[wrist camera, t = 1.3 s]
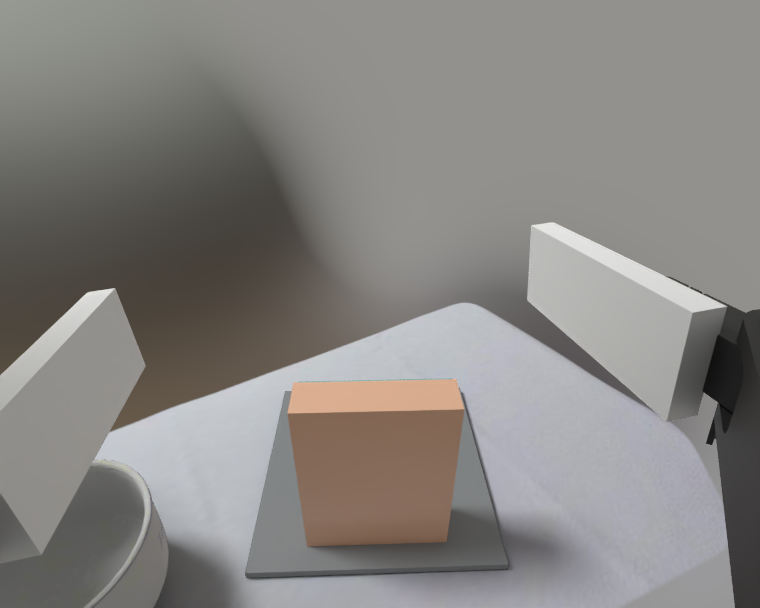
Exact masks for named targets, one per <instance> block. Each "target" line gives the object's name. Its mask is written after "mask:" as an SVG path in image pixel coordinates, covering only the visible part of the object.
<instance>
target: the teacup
mask: <svg viewBox="0 0 760 608" xmlns="http://www.w3.org/2000/svg"><path fill="white" fill-rule="evenodd" d="M168 560H169V552H168V542H167V537H166V533H165V530H164V527H163V524H162V522H161V519H160V517H159V515H158V512H157V510H156V508H155V506H154V504H153V501H152V498H151V494H150V491H149V488H148V486H147V484H146V482H145V481H144V479H143V478H142V477H141V476H140V474H139V473H138V472H136V471H135V470H134V469H133V468H131V467H129V466H127V465H124V464H122V463H119V462H116V461H113V460H112V461H108V460H105V459H103V460H93V462H92V464H91V466H90V468H89V469H88V471H87V473H86V475H85V477H84V479H83V480H82V482H81V484H80V486H79V488H78V489H77V491H76V493H75V495H74V497H73V499H72V500H71V502H70V504H69V506H68V508H67V509H66V511H65V513H64V515H63V517H62V519H61V520H60V522H59V524H58V526H57V528H56V529H55V531H54V533H53V535H52V537H51V539H50V540H49V542H48V544H47V546H46V548H45V549H44V551H43V553H42V555H38V556H34V557H29V558H24V559H20V560H15V561H10V562H6V563H1V564H0V608H153V607H154V606H155V604H156V602H157V600H158V598H159V595H160V593H161V590H162V588H163V585H164V582H165V578H166V574H167V568H168Z"/></svg>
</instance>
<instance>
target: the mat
mask: <svg viewBox="0 0 760 608" xmlns="http://www.w3.org/2000/svg"><path fill="white" fill-rule="evenodd" d="M459 391H460V388H459ZM291 393H292V391H285V394H284V399H283V403H282V408H281V412H280V417H279V421H278V426H277V430H276V435H275V440H274V444H273V449H272V453H271V458H270V462H269V467H268V471H267V476H266V480H265V485H264V489H263V494H262V499H261V503H260V508H259V512H258V517H257V521H256V526H255V530H254V535H253V539H252V544H251V548H250V553H249V557H248V562H247V567H246V571H245V575H246V578H259V577H288V576H318V575H347V574H377V573H406V572H436V571H465V570H495V569H507V568H508V561H507V557H506V554H505V550H504V546H503V543H502V539H501V536H500V532H499V528H498V525H497V521H496V517H495V514H494V510H493V507H492V503H491V499H490V496H489V492H488V488H487V485H486V481H485V478H484V474H483V470H482V467H481V463H480V459H479V456H478V452H477V449H476V445H475V441H474V438H473V434H472V430H471V427H470V423H469V420H468V416H467V412H466V409H465V405H464V401H463V398H462V394H461V391H460V395H461V399H462V402H463V406H464V416H463V423H462V431H461V438H460V446H459V453H458V461H457V468H456V476H455V483H454V491H453V498H452V506H451V513H450V521H449V528H448V536H447V542H434V543H402V544H371V545H340V546H309V547H307V543H306V536H305V529H304V523H303V516H302V509H301V502H300V496H299V489H298V482H297V475H296V468H295V462H294V455H293V448H292V441H291V435H290V428H289V421H288V414H287V413H288V408H289V403H290V398H291Z"/></svg>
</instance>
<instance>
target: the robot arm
mask: <svg viewBox="0 0 760 608" xmlns="http://www.w3.org/2000/svg"><path fill="white" fill-rule="evenodd" d="M530 243H531V244H530V260H529V279H528V297H527V300H528V301H529V302H530V303H531V304H532V305H533V306H534V307H536V308H537V309H538V310H539V311H540V312H541V313H542V314H544V315H545V316H546V317H547V318H548V319H549V320H551V321H552V322H553V323H554V324H555V325H556V326H557V327H559V328H560V329H561V330H562V331H563V332H564V333H565V334H567V335H568V336H569V337H570V338H571V339H572V340H573V341H575V342H576V343H577V344H578V345H579V346H580V347H582V348H583V349H584V350H585V351H586V352H587V353H589V354H590V355H591V356H592V357H593V358H594V359H596V361H598V362H599V363H600V364H601V365H602V366H603V367H605V368H606V369H607V370H608V371H609V372H610V373H611V374H613V375H614V376H615V377H616V378H617V379H618V380H619V381H621V382H622V383H623V384H624V385H625V386H626V387H628V388H629V389H630V390H631V391H632V392H633V393H634V394H636V395H637V396H638V397H639V398H640V399H641V400H642V401H644V402H645V403H646V404H647V405H648V406H649V407H650V408H652V409H653V410H654V411H655V412H656V413H657V414H659V415H660V416H661V417H662V418H663V419H664V420H665V421H672V420H676V419H681V418H686V417H690V416H695V415H697V414H698V411H699V407H700V403H701V400H702V396H703V393H706V394H707V395H709V396H710V397H711V398H713V399H714V400H716V401H717V402H718V405H717V408H716V412H715V415H714V418H713V422H712V425H711V429H710V432H709V435H708V438H707V442H706V444H710V445H712V444H713V441H714V439H716V441H717V450H718V459H719V468H720V477H721V486H722V494H723V504H724V512H725V521H726V530H727V539H728V548H729V557H730V565H731V575H732V584H733V593H734V602H735V608H760V309H759V310H752V311H749V312H747V313H745V312H742V311H740V310H738V309H736V308H734V307H732V306H730V305H728V304H726V303H723V302H721V301H720V300H717V299H715V298H713V297H711V296H709V295H707V294H702V292H701V291H699V290H696V289H694V288H692V287H691V288H689V287H688V285H686V284H684V283H682V282H680V281H678V280H676V279H673V278H671V277H667V276H663V275H661V274H659V273H657V272H655V271H653V270H651V269H649V268H647V267H644V266H643V265H640V264H638V263H636V262H634V261H632V260H630V259H628V258H626V257H624V256H622V255H620V254H618V253H616V252H614V251H612V250H609V249H607V248H605V247H603V246H601V245H599V244H597V243H595V242H593V241H591V240H589V239H587V238H585V237H582V236H581V235H578V234H576V233H574V232H572V231H570V230H568V229H566V228H564V227H562V226H560V225H558V224H556V223H554V222H551V223H545V224H538V225H532V226H531V242H530ZM144 367H145V363H144V361H143V358H142V355H141V353H140V350H139V348H138V345H137V343H136V340H135V338H134V335H133V333H132V330H131V328H130V325H129V323H128V320H127V317H126V315H125V312H124V310H123V307H122V305H121V302H120V300H119V297H118V294H117V292H116V290H115V288H114V289H107V290H100V291H94V292H88V293H87V294H86V295H85V296H83V297H82V298H81V299H80V300H79V301H78V302H77V303H76V304H75V305H74V306H73V307H72V308H71V309H70V310H69V311H68V312H67V313H66V314H64V315H63V316H62V317H61V318H60V319H59V320H58V321H57V322H56V323H55V324H54V325H53V326H52V327H51V328H50V329H49V330H48V331H47V332H46V333H45V334H44V335H42V336H41V337H40V338H39V339H38V340H37V341H36V342H35V343H34V344H33V345H32V346H31V347H30V348H29V349H28V350H27V351H26V352H25V353H24V354H23V355H21V356H20V357H19V358H18V359H17V360H16V361H15V362H14V363H13V364H12V365H11V366H10V367H9V368H8V369H7V370H6V371H5V372H3V374H1V375H0V564H1V563H6V562H10V561H15V560H20V559H24V558H29V557H34V556H38V555H42V553H43V551H44V549H45V548H46V546H47V544H48V542H49V540H50V539H51V537H52V535H53V533H54V531H55V529H56V528H57V526H58V524H59V522H60V520H61V519H62V517H63V515H64V513H65V511H66V509H67V508H68V506H69V504H70V502H71V500H72V499H73V497H74V495H75V493H76V491H77V489H78V488H79V486H80V484H81V482H82V480H83V479H84V477H85V475H86V473H87V471H88V469H89V468H90V466H91V464H92V462H93V460H94V459H95V457H96V455H97V453H98V451H99V449H100V448H101V446H102V444H103V442H104V440H105V439H106V437H107V435H108V433H109V431H110V429H111V427H112V425H113V424H114V422H115V420H116V419H117V417H118V415H119V413H120V411H121V409H122V408H123V406H124V404H125V402H126V400H127V398H128V396H129V395H130V393H131V391H132V389H133V388H134V386H135V384H136V382H137V380H138V379H139V377H140V375H141V373H142V371H143V369H144Z"/></svg>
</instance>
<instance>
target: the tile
mask: <svg viewBox="0 0 760 608" xmlns="http://www.w3.org/2000/svg"><path fill="white" fill-rule="evenodd" d="M287 414H288V421H289V428H290V435H291V441H292V448H293V455H294V462H295V468H296V475H297V482H298V489H299V496H300V502H301V509H302V516H303V523H304V529H305V536H306V543H307V547H309V546H340V545H371V544H402V543H434V542H447V536H448V528H449V521H450V513H451V506H452V498H453V491H454V483H455V476H456V468H457V461H458V453H459V446H460V438H461V431H462V423H463V416H464V406H463V402H462V399H461V395H460V391H459V388H458V384H457V380H456V379H452V378H450V379H404V380H358V381H312V382H298V383H293V388H292V393H291V398H290V403H289V408H288V413H287Z"/></svg>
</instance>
